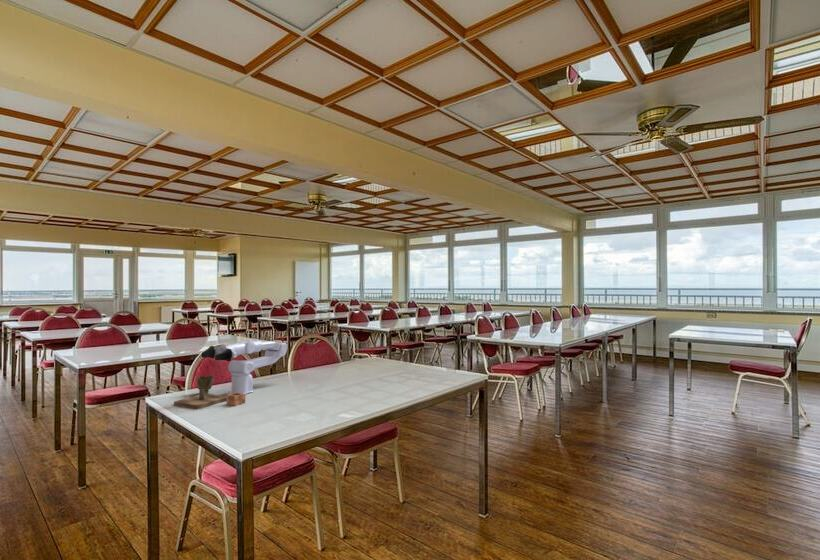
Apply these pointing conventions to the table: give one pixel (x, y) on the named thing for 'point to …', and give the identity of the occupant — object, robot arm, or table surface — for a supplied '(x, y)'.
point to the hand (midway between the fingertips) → (208, 356)
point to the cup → (204, 383)
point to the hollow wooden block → (236, 398)
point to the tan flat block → (200, 400)
